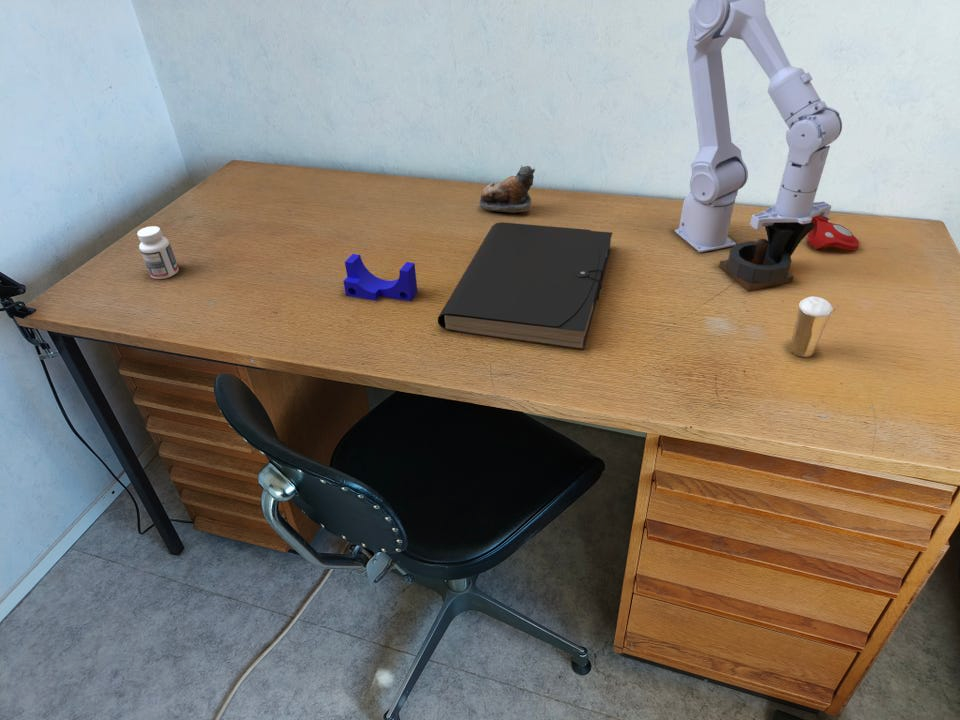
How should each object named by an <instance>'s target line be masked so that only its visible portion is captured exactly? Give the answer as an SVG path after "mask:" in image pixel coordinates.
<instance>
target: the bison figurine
mask: <svg viewBox="0 0 960 720" xmlns="http://www.w3.org/2000/svg"><path fill="white" fill-rule="evenodd" d="M535 171H536V167H535V166H533V167H531V166H529V165H525V166H523V165H520V167H519V170H518V172H517V173H516V175H511V176H508V177H507V178H505V179H503V181H501V182H498V183H496V184H494V182H490V183H489V184H488V185H486V186H485V187H484V188H483V189H482V191H481V194H480V199H479V200H478V206H479V207H480V208H481V209H483V210H486V211H491V212H498V213H526V212H528V211H529V210H530V209H531V206H532V198H531V195H530V194H529V190H530V189H531V187H532V186H533V184H534V179H535V175H534V174H535Z"/></svg>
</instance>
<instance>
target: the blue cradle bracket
mask: <svg viewBox="0 0 960 720" xmlns="http://www.w3.org/2000/svg"><path fill="white" fill-rule="evenodd" d="M415 264H416V263H415V262H409V261H406V262H405V263H404V264H403V266H402V267H401V268H400V269H399V270H398V271H399V275H398V278H397V279H394V280H387V279H383V278H380V277H377V276H376V275H374V274H373V273H371V271H370V270H369V269H368V268H367V267H366V266H365V264H364V262H363V260H362V257H361V254H356V253H352V254H351V255H350V256H349V257H348V258H347V259H346V260H345V261H344V266H345V267H344V268H345V272H346V277H345V278H344V279H343V280H342V281H343V287H344V292H345V296H346V297H352V298H359V299H364V300H371V301H378V300H379V298H381V297H383V298H389V299H394V300H401V301H407V302H412V301H413V300H414V298H415V297H416V295H417V294H418V293H419V291H418V284H417V283H418V282H417V281H418V280H417V274H416V265H415Z"/></svg>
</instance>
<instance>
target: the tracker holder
mask: <svg viewBox="0 0 960 720" xmlns="http://www.w3.org/2000/svg"><path fill="white" fill-rule="evenodd" d="M831 220H832V219H831V217H830V216H826V217H823V216H821V215H820V216H815V217H813V218H812V220H811V222H813V223H814V227H813V230H812V231H810V232H809V233H808V234H807V239H806V242H807V243H808V244H809V245H810V246H811V247H813V248H814V249H816V250H818V249H821V248H823V247H835V248H836V247H837V248H839V249H843V250H848V251H856V250H857V249H858V247H859V246H860V241H859V240H858V238H857V237H856V236H855V235H854V234H853V233H852V232H851V230H849V229H848V228H846V227H845V226H843V225H841V224H838V223H834V222H830V221H831Z"/></svg>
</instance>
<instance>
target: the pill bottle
mask: <svg viewBox="0 0 960 720" xmlns="http://www.w3.org/2000/svg"><path fill="white" fill-rule="evenodd" d="M136 234H137V237H138V240H139V242H140V243H139V245H138V250H139V252H140V254H141V256H142V260H143V262H144V264H145V267H146V269H147V271H148V274H149V276H150V277H151V278H152V279H154V280H165V279H168V278H171V277H173V276H175V275H176V274H177V273H179V269H180V268H179V264H178V261H177V259H176V256H175V253H174V251H173V249H172V245H171V243H170V240H169V239H168V238H167V237H165V236H163V232H162V230H161V228H160V227H159V226H156V225H152V226H151V225H150V226H146V227H142V228H141V229H139V230H138V231H137V233H136Z"/></svg>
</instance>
